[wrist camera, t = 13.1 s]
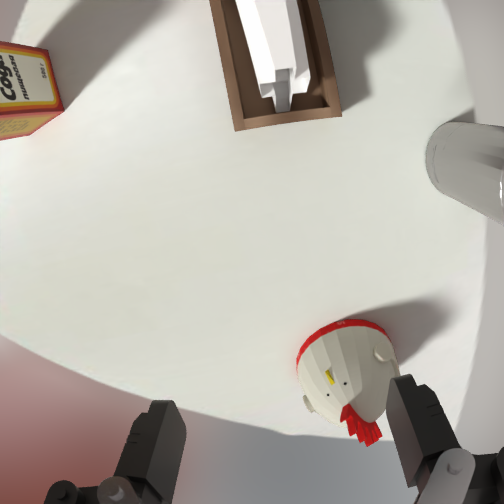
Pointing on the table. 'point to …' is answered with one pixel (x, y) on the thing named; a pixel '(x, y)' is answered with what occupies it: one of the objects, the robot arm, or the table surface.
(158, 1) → the table surface
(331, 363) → the kitchen timer
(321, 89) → the trough
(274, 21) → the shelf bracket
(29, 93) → the baking soda box
